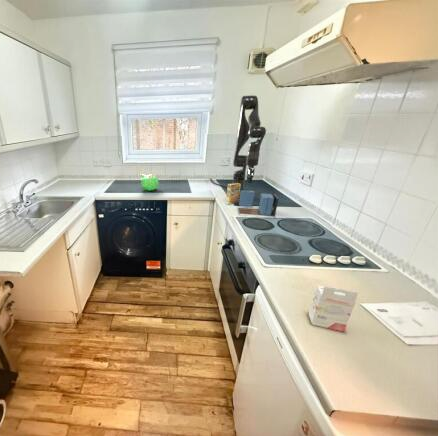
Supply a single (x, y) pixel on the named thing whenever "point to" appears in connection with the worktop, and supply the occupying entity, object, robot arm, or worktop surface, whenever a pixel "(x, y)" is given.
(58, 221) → the worktop surface
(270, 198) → the shelved book
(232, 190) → the candy box
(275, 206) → the book rack
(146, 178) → the green rounded lump
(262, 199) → the shelved book
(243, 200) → the blue book
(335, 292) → the ink cartridge box
